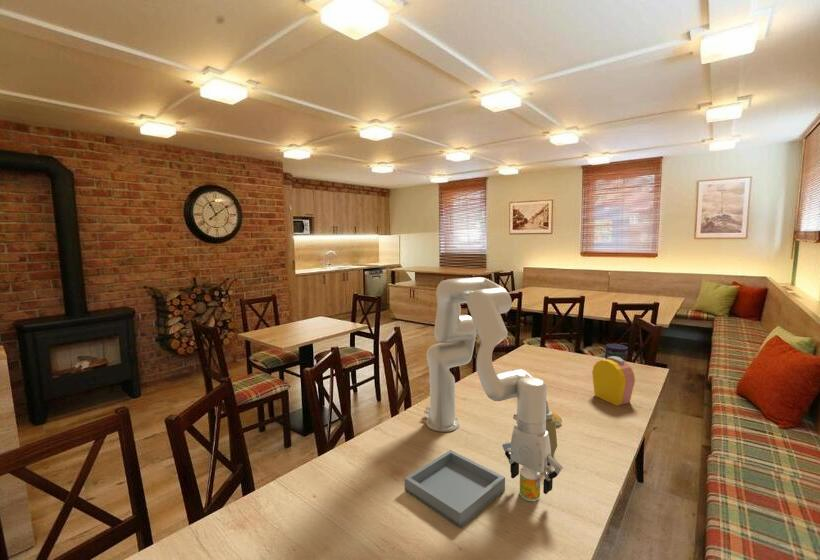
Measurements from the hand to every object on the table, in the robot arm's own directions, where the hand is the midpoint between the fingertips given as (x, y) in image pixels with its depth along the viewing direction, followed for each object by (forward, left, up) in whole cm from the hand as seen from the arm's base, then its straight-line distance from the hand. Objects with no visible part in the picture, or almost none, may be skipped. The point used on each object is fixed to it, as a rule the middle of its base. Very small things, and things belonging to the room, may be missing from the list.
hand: (530, 483), depth 107 cm
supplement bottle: (0, 0, -4) cm, 4 cm away
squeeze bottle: (-7, +22, -4) cm, 24 cm away
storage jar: (-15, +113, -4) cm, 114 cm away
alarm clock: (-6, +82, -4) cm, 82 cm away
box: (-16, -13, -4) cm, 21 cm away
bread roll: (-16, +44, -4) cm, 47 cm away
